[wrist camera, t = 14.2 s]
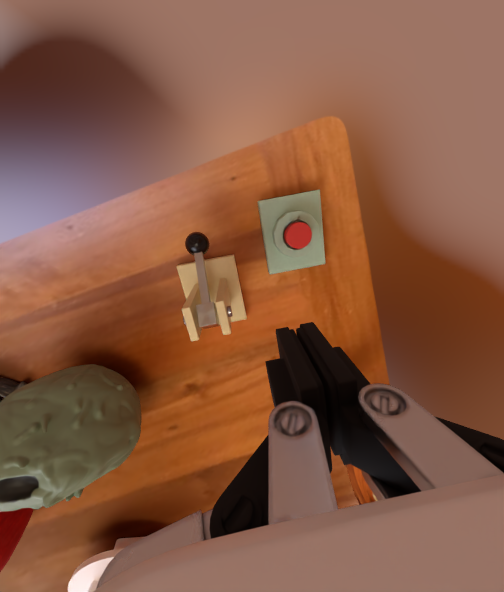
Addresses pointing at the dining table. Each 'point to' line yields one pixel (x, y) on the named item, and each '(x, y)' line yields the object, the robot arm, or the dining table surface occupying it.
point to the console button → (298, 235)
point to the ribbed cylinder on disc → (96, 567)
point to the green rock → (64, 434)
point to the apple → (12, 531)
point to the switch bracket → (212, 293)
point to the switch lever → (202, 280)
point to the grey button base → (276, 220)
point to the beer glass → (360, 485)
